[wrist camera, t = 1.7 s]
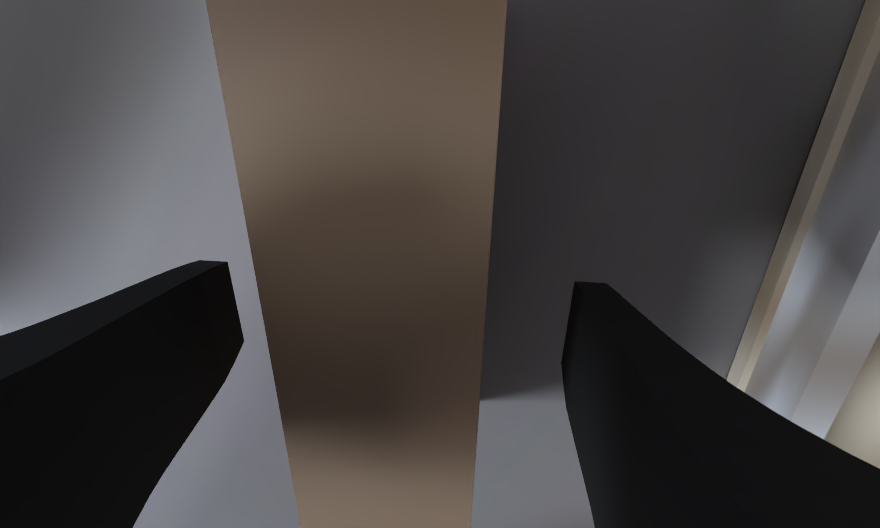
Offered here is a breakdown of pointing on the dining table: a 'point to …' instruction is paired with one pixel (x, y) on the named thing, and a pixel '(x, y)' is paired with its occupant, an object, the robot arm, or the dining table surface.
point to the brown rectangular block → (369, 239)
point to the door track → (828, 273)
